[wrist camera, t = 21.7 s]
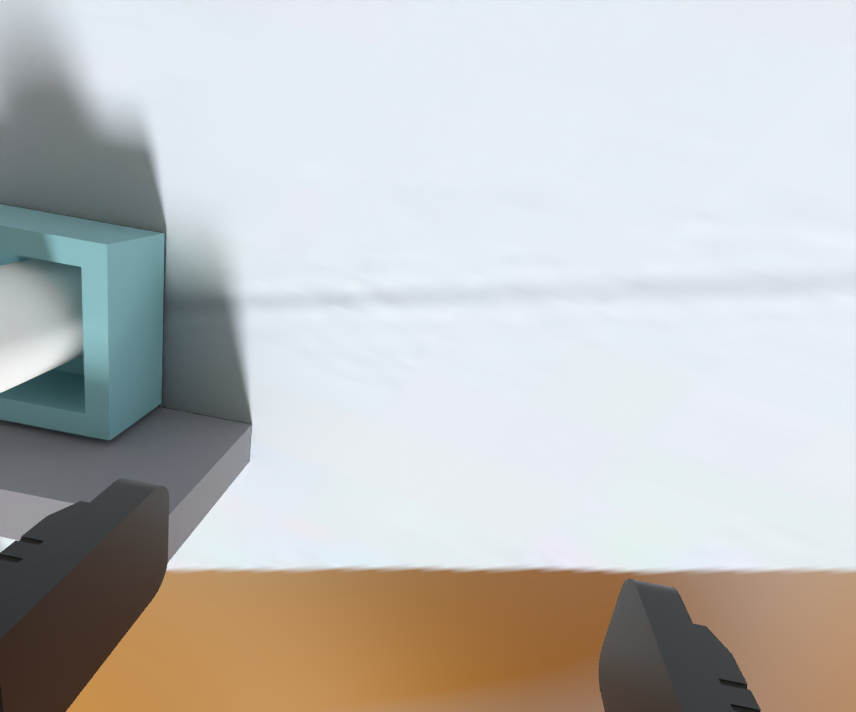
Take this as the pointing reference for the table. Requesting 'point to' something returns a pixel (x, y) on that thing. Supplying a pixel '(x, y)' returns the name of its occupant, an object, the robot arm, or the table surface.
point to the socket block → (94, 324)
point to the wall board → (121, 467)
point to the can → (38, 319)
